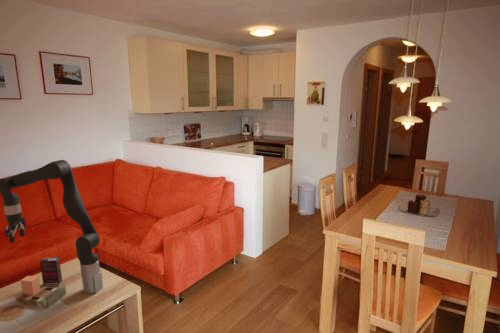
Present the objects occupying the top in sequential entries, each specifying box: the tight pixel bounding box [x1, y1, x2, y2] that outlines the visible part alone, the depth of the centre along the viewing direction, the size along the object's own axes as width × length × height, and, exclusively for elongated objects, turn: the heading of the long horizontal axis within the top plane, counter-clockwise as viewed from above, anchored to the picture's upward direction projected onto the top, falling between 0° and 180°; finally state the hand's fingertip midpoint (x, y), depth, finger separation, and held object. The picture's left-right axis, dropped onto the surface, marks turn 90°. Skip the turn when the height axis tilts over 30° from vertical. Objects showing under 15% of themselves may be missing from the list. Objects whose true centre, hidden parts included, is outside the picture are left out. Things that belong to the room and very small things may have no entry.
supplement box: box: [39, 256, 63, 287], centre depth 185 cm, size 9×5×16 cm, turn 99°
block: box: [20, 275, 41, 295], centre depth 173 cm, size 7×4×8 cm, turn 78°
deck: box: [15, 283, 67, 308], centre depth 173 cm, size 20×12×6 cm, turn 78°
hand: (17, 239), depth 182 cm, fingers open, 8 cm apart
